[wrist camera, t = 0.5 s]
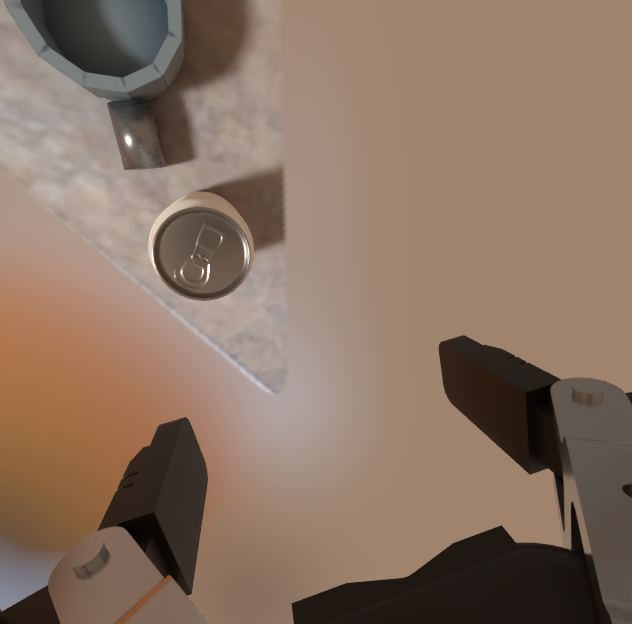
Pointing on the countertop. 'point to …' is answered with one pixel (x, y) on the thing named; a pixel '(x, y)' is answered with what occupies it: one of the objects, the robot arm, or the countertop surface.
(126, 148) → the shaft
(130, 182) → the countertop surface
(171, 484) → the robot arm
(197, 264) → the can
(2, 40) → the countertop surface
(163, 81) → the collar
